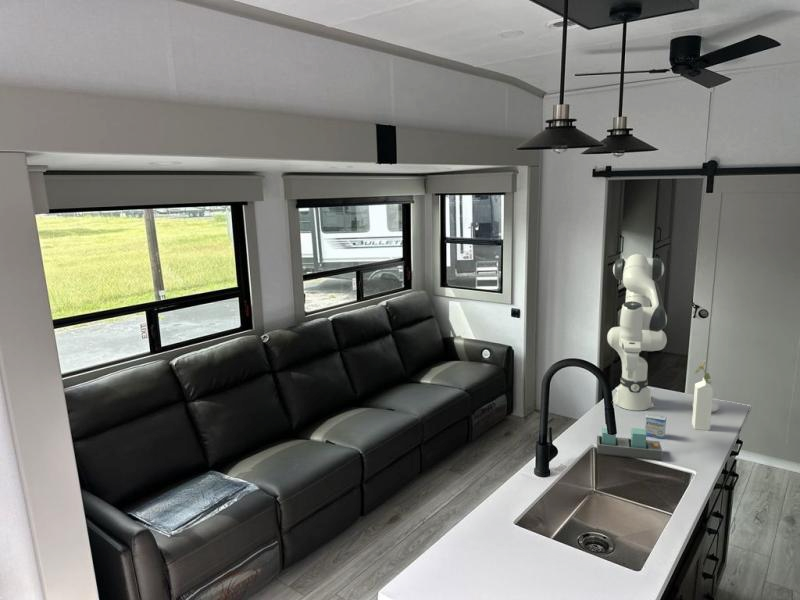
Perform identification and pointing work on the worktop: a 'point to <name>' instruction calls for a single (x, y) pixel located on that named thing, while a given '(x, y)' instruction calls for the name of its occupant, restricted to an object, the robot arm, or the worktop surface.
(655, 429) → the medicine box
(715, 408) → the flower in vase
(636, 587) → the worktop surface
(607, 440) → the teal rectangular block
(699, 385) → the milk
